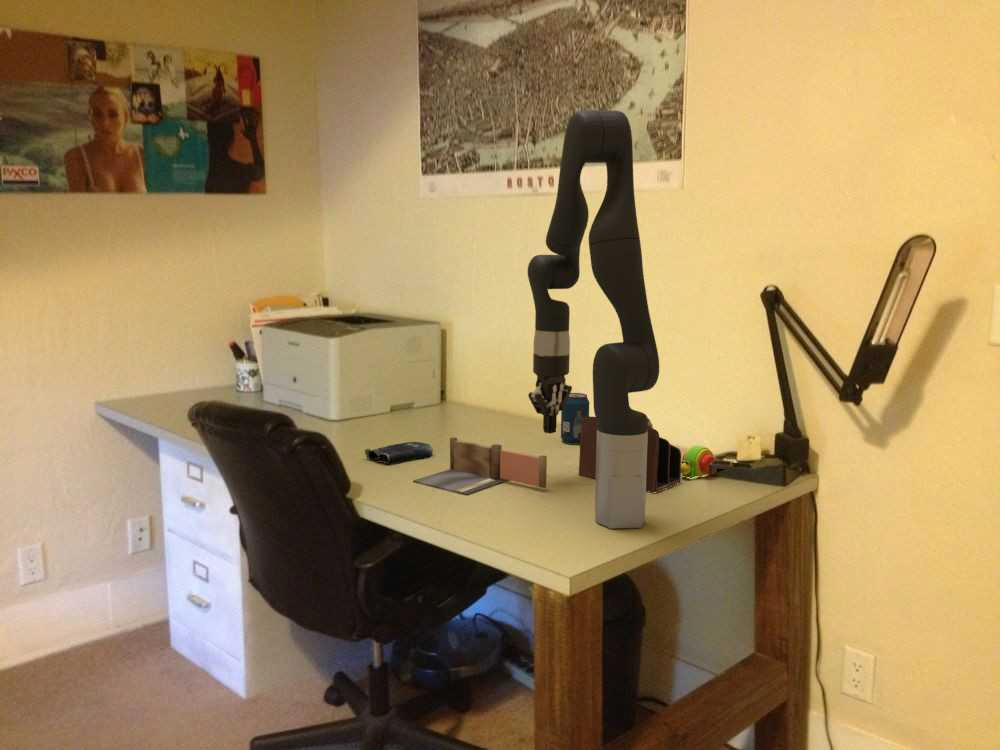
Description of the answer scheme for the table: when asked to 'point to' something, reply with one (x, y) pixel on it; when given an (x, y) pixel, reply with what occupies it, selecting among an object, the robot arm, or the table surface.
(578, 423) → the soda can
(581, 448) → the letter holder
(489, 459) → the grey and brown panels
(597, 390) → the robot arm
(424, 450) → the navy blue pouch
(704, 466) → the toy measuring tape
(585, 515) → the table surface
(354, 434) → the table surface
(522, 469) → the swing panel
